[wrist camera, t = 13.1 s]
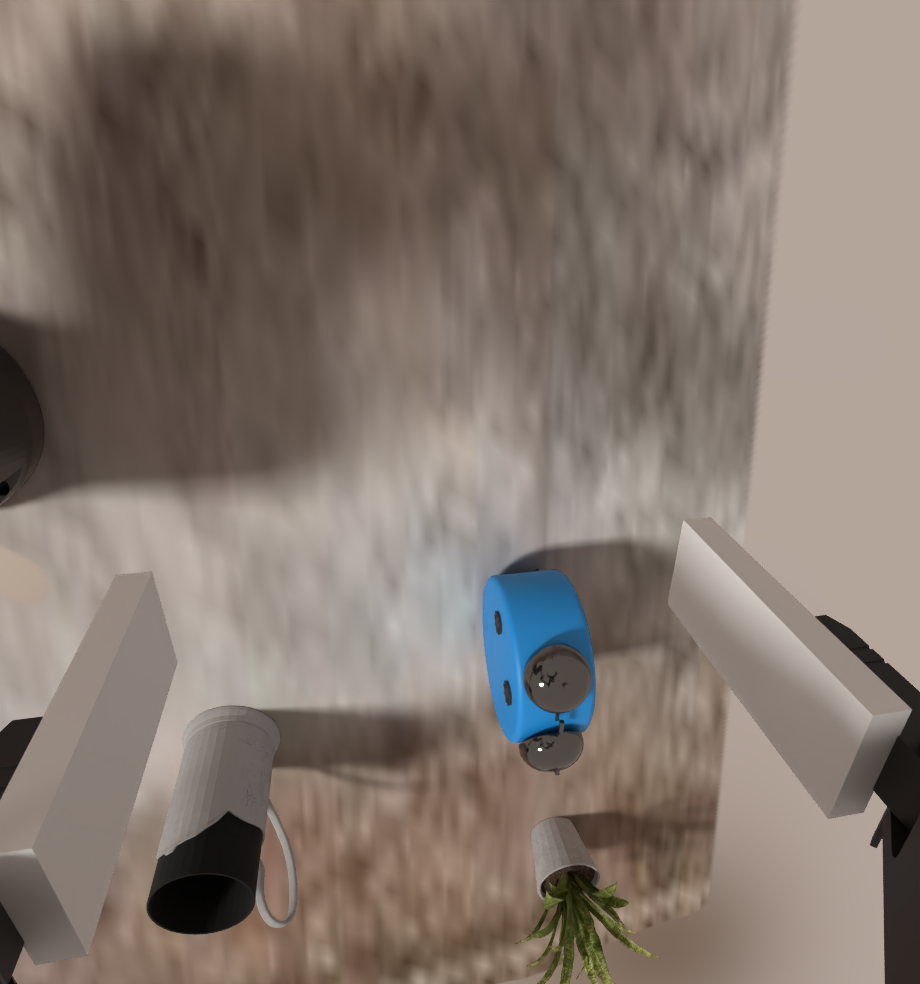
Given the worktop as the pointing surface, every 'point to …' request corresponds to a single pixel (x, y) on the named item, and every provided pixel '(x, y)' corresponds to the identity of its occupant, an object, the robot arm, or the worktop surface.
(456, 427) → the worktop surface
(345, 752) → the worktop surface
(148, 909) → the glass holder
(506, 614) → the alarm clock
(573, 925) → the house plant
